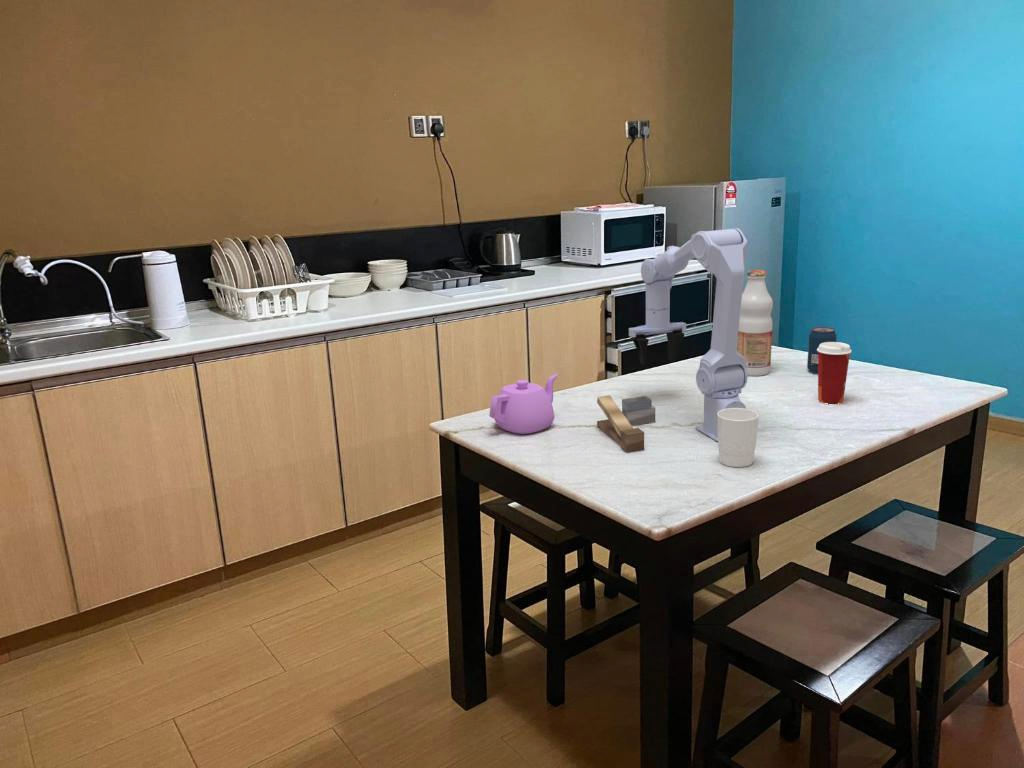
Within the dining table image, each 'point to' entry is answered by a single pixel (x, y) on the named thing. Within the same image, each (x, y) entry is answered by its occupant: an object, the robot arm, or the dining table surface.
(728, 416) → the white cup
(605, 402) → the arm
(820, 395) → the paper cup
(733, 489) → the dining table surface
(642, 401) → the bar
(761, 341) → the fruit juice
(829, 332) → the soda can
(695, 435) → the dining table surface
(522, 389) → the teapot
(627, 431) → the brown grey blocky piece
